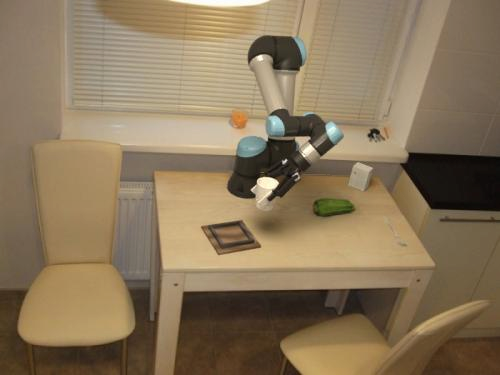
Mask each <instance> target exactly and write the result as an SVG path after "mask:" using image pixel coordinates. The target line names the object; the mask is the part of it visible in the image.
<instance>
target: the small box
mask: <svg viewBox="0 0 500 375" xmlns="http://www.w3.org/2000/svg"><path fill="white" fill-rule="evenodd" d="M373 171H374V167H371V166H369V165H366V164H364V163H361V162H359V161H357V162H356V163H355V164H354V165H353V166H352V169H351V172H350V176H349V180H348V185H347V186H348V187H351V188H354V189H356V190H358V191H361V192H363V193H364V192H365V191H366V190H367V189H368V188H369V185H370V182H371V178H372V174H373Z"/></svg>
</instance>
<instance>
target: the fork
mask: <svg viewBox="0 0 500 375" xmlns="http://www.w3.org/2000/svg"><path fill="white" fill-rule="evenodd" d="M386 217H387V216H386V215H383V219H384V221H385V222H386V223H387V225H388V226H389V227H390V228H391V229H392V231H394V237H395V236H396V237H397V236H398V238H399V234H398V233H397V231H396V229H395V228H394V227H393V225H392V224H391V222H390V221H389V219H387V218H388V217H387V218H386ZM398 238H397V239H395V241H396V242H397V243H399V245H406V246H408V244H407V243H406V242H405V241H404V240H403V239H398Z"/></svg>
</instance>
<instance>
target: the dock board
mask: <svg viewBox="0 0 500 375" xmlns="http://www.w3.org/2000/svg"><path fill="white" fill-rule="evenodd" d="M200 228H201V230H202V231H203V233H204V234H205V236H206V238H207V239H208V241H209V242H210V244H211V246H212V247H213V249H214V251H215V252H216V254H217V255H218V256H221V255H227V254H232V253H238V252H243V251H244V252H245V251H250V250H255V249H261V248H262V244H261V243H260V242H259V241H258V239H257V238H256V237H255V236H254V234H253V232H252V231H251V229H250V228H249V227H248V226H247V225H246V223H245V222H244V220H243V219H239V220H233V221H226V222H221V223H213V224H205V225H201V226H200Z"/></svg>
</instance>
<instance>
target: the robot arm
mask: <svg viewBox="0 0 500 375" xmlns="http://www.w3.org/2000/svg"><path fill="white" fill-rule="evenodd" d="M307 55H308V54H307V48H306V44H305V43H304V40H303V39H302V38H301V37H298V36H291V35H289V36H288V35H271V34H270V35H269V34H268V35H267V34H264V35H262V36H259V37H257V38H256V39H255V40H254V41H253V42H252V43H251V45H250V47H249V48H248V52H247V59H246V60H247V64H248V68H249V70H250V71H251V73H253V74H254V77H255V79H256V83H257V86H258V88H259V89H258V90H259V92H260V95H261V98H262V100H263V104H264V107H265V111H266V112H267V115H268V116H267V118H266V119H265V124H264V126H265V133H266V135H267V140H266V139H265V138H263V136H262V137H261V136H257V135H248V136H244V137H243V138H241V139H240V140H239V141H238V143H237V147H236V150H235V159H234V166H233V172H232V173H231V174H230V177H229V179H228V181H227V185H226V188H227V191H228V192H229V193H230V194H232V195H234V197H235V196H236V197H237V198H242V199H256V187H257V180H258V179H259V178H262V170H265V171H264V172H263V177H269V178H273V179H275V180H276V178H279V177H281V176H282V175H283V177H282V179H280V181H279V182H278V183H279V184H278V185H277V187H276V188H275V190H272V191H271V192H269V193H268V194H267V195H265V196H264V197H263V198H262V199H261V200H260V201H258V203H259V204H260V205H261V206H262V207H264V206H265V205H266V204H267V203H269V202H270V201H272V200H273V199H274V198H275V197H276V198H277V197H279V198H280V199H282V198H284V196H285V195H286V194H287V193H289V191H290V190H291V189H292V188H293V187H294V186H295V185H296V184H297V183H299V182H300V181H301V180H302V178H301V177H300V173H301V172H304V173H305V172H306V171H307V170H308V169H309V168H310V167H311V166H312V165H314V164H315V163H316V162H317V161H318V160H320V159H321V158H322V157H323V156H324V155H326V154H327V153H328V152H329V151H331V150H332V149H333V148H334V147H335V146H337V145H339V143H340V142H341V141H342V140H343V139H344V137H345V135H344V133H343V132H342V129H340V128H339V127H338V125H337V124H336V123H334V121H329V122H328V123H327V122H325V121H324V120H323V118H322V117H321V116H320V115H319V114H317V113H316V112H314V111H307V112H304V113H302V115H294V108H295V106H294V105H295V92H296V78H297V75H298V74H299V73H300V71H301V67H303V66H304V65H306V62H307V57H308V56H307ZM297 137H298V138H301V137H302V138H304V137H306V138H307V137H309V139H308V141H306V142H305V143H303V144H302V145H301V146H300V143H299V142H298V141H297V140H296V138H297Z"/></svg>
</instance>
